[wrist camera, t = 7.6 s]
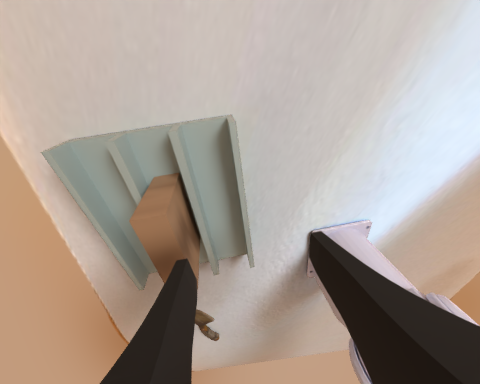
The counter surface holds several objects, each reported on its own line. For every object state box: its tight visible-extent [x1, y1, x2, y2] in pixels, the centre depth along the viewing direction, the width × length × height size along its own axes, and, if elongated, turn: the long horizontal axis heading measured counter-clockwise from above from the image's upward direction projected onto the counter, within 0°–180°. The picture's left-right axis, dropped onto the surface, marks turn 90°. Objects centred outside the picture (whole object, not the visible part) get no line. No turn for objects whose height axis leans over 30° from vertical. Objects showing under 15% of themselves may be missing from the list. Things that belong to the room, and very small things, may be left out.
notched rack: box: [41, 115, 254, 290], centre depth 18 cm, size 16×13×3 cm
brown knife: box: [195, 310, 219, 341], centre depth 32 cm, size 12×1×5 cm
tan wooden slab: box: [129, 173, 200, 289], centre depth 16 cm, size 8×2×6 cm, turn 7°
